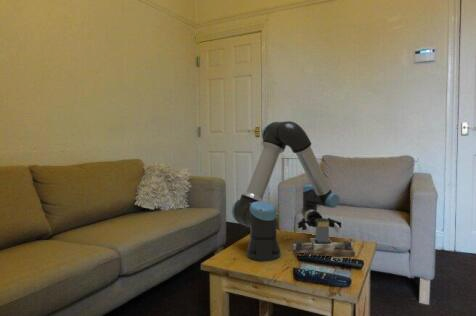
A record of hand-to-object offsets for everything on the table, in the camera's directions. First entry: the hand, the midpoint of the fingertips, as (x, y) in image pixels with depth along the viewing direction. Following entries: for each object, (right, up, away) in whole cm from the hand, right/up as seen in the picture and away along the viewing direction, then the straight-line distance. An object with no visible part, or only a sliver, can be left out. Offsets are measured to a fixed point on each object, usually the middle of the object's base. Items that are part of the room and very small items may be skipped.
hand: (323, 230), depth 152 cm
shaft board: (0, -11, +3) cm, 11 cm away
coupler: (0, -9, +3) cm, 9 cm away
